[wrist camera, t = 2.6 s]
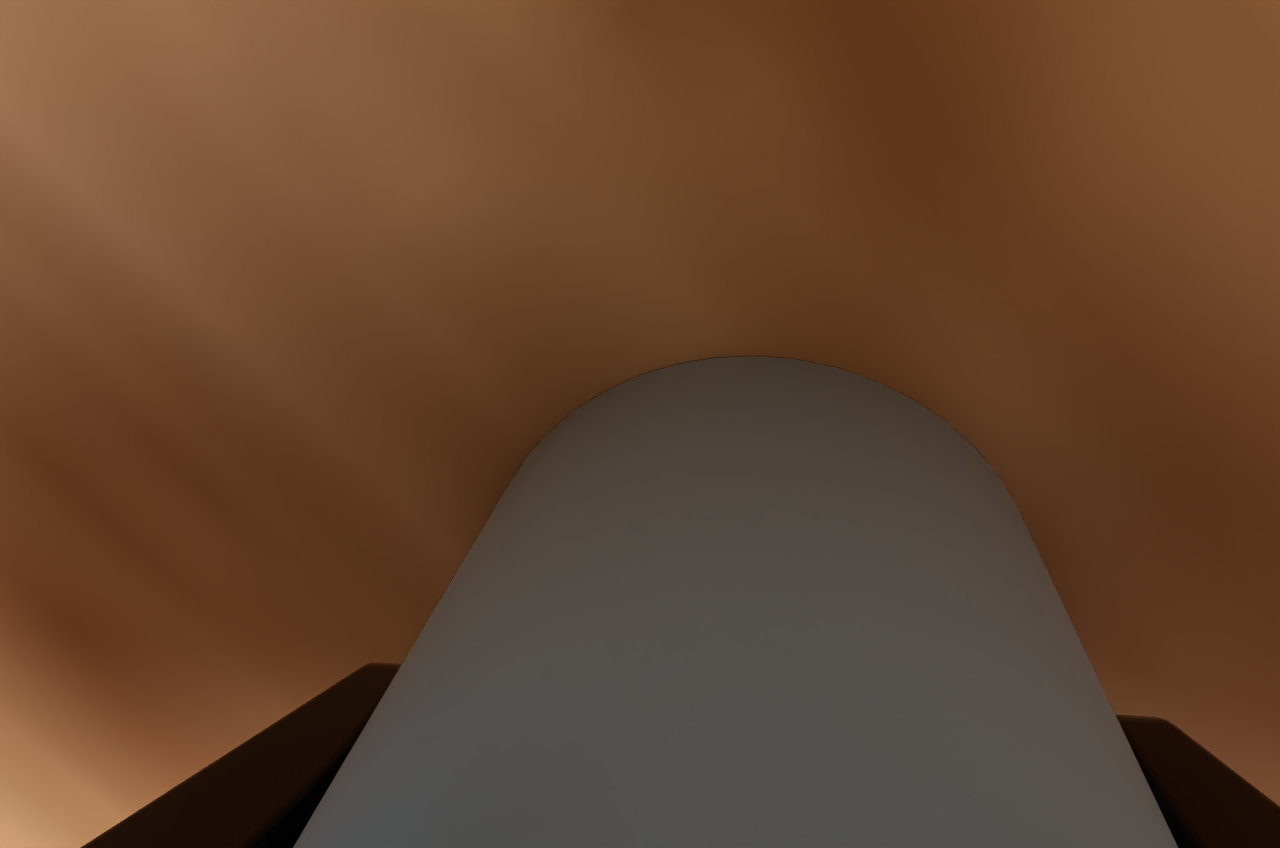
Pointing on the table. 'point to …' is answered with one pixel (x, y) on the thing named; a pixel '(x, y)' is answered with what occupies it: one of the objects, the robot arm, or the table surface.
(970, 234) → the table surface
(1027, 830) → the blue cylinder
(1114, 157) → the table surface
